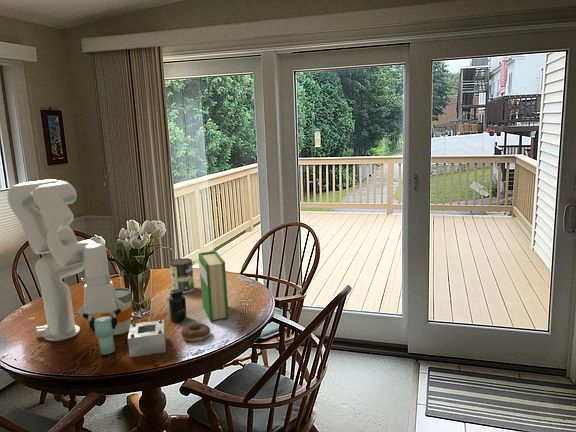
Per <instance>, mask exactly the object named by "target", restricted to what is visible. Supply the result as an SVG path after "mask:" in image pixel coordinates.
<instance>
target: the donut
mask: <svg viewBox="0 0 576 432" xmlns="http://www.w3.org/2000/svg"><path fill="white" fill-rule="evenodd" d="M210 333H211V328H210V327H209V326H208V324H205V323H201V322H197V323H190V324H187V325H185V326H183V328H182V330H181V332H180V334H181V337H182V338H183V340H185V341H186V342H200V341H203V340H205V339H207V338H208V337H209V336H210Z"/></svg>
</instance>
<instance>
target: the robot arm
mask: <svg viewBox="0 0 576 432" xmlns="http://www.w3.org/2000/svg"><path fill="white" fill-rule="evenodd" d="M77 197H78V196H77V190H76V189H75V187H74V186H73V185H72V184H71V183H70V182H68V181H64V180H57V179H50V178H49V179H43V180H41V179H40V180H36V181H35V180H34V181H26V182H20V183H17V184H14V185H12V186H11V187H9V189H8V191H7V202H8V204H9V207H10V210H11V211H12V213H13V214H14V215H15V217H16V218H17V219H18V221H19V222H20V224H21V226H22V229H23V232H24V234H25V237H26V239H27V241H28V244H29V246H30V248H31V250H32V252H34V253H35V254H36V255H42V254H48V253H50V255H46V256H43V257H41V258H40V259H38V260H37V262H36V263H35V266H34V271H35V273H36V277H37V278H38V282H39V284H40V289H41V295H42V301H43V302H42V303H43V308H44V314H45V319H46V320H45V321H46V324H45V325H39V326H35V332H37V334H42V333H44V334H43V336H44V337H43V338H44V339H45V340H46V341H51V342H58V341H59V342H60V341H65V340H68V339H71V338H73V337H75V336H77V335H78V334H79V333H80V332H81V327H80V326H79V325H77V324H76V323H75V316H74V310H73V302H72V295H71V290H70V287H69V285H68V284H67V283H66V282H65V281H63V279H64V278H66V277H71V276H73V275H76V274H80V273H81V272H83V271H84V277H81V278H80V282H81V283H85V284H84V286H83V304H81V306H80V307H79V308H78V309H77V314H79V315H80V316H82V318H85V320H87V322H88V324H89V329H90V330H91V332H95V328H94V320H95V318H94V315H97V314H99V315H101V314H100V313H107V312H110V313H111V315H112V327H113V329H115V327H116V325H117V315H118V314H119V313H120V312H121V311H122V310H123V308H124V307H125V304H124V303H123V302H121V301H120V300H118V299H117V298H116V294H115V289H114V288H115V287H114V283H113V280H110V272H109V263H108V256H107V255H108V254H107V247H106V245H105V244H104V243H99V242H96V241H95V240H93V239H83V240H80V241H78V240H77V239H78V238H77V237H76V234H75V232H74V231H73V229H72V228H71V227H70V225H71V223H73V221H74V219H75V217H74V213H73V212H72V211H71V209H70V208H69V206H68V205H71V204H73V203H75V202H76V200H77ZM33 205H36V206H37V207H38V208H36V207H34V206H33ZM117 305H119V306H120V307H119V308H118V309H117V310H116V306H117Z"/></svg>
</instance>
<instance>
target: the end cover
mask: <svg viewBox="0 0 576 432" xmlns="http://www.w3.org/2000/svg"><path fill="white" fill-rule="evenodd" d="M94 328H95V331H94V332H95V337H97V339H98V346H99V351H100V353H99V354H101V355H109V354H112V353H113V352H115V351H116V349H115V348H116V347H115V341H114V335H113V333H114V329H113V327H112V317H101V316H100V317H97V318H96V319H94Z"/></svg>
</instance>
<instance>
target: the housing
mask: <svg viewBox="0 0 576 432" xmlns="http://www.w3.org/2000/svg"><path fill="white" fill-rule="evenodd" d="M127 336H128V337H127V344H128V352H129V358H134V357H135V358H136V357H141V356H142V357H143V356H149V355H153V354H154V355H155V354H161V353H162V354H163V353H166V352H167V334H166V326H165V319H158V320H154V321H144V322H138V323H136V322H133V323H131V324H130V329H129V331H128V335H127Z"/></svg>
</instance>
